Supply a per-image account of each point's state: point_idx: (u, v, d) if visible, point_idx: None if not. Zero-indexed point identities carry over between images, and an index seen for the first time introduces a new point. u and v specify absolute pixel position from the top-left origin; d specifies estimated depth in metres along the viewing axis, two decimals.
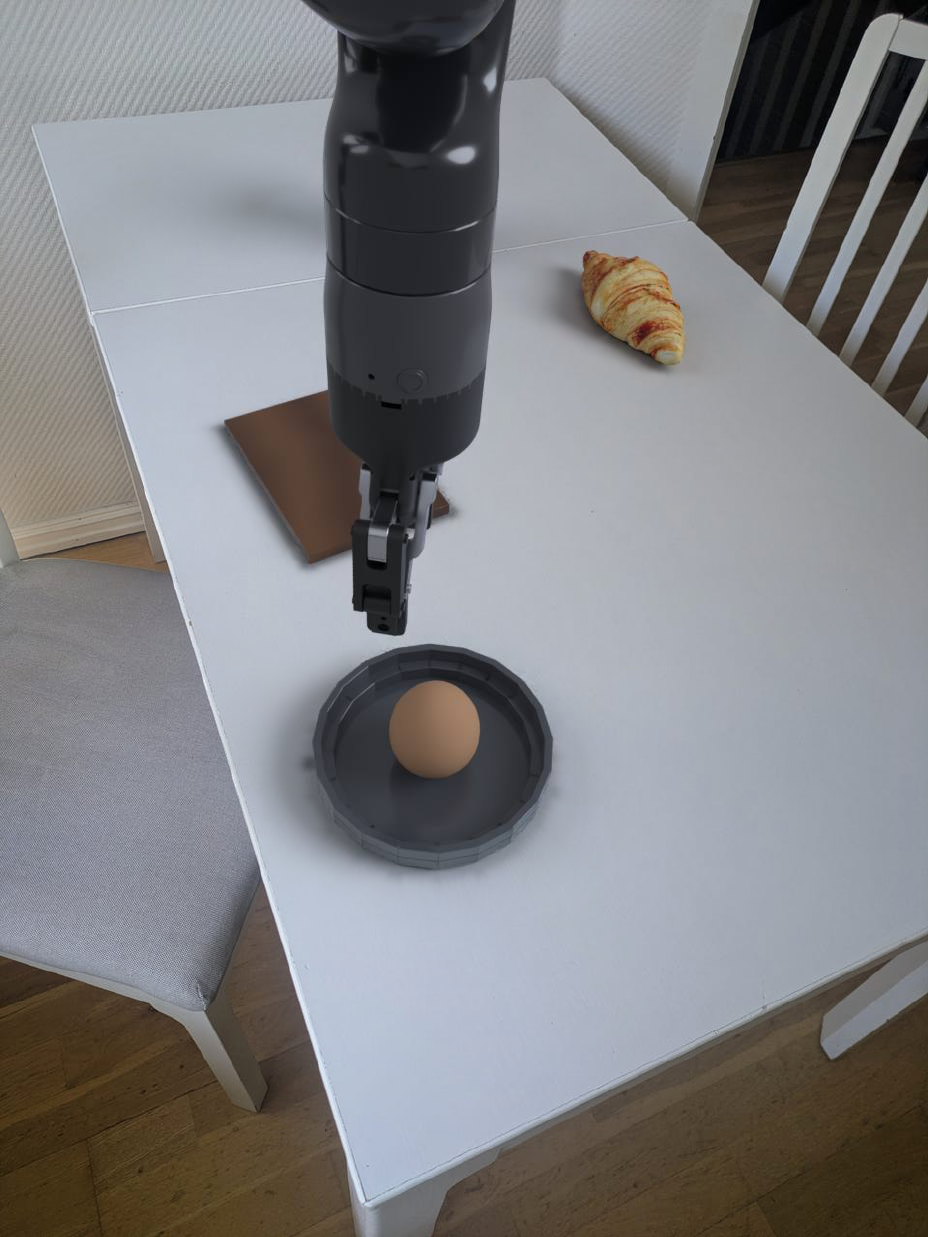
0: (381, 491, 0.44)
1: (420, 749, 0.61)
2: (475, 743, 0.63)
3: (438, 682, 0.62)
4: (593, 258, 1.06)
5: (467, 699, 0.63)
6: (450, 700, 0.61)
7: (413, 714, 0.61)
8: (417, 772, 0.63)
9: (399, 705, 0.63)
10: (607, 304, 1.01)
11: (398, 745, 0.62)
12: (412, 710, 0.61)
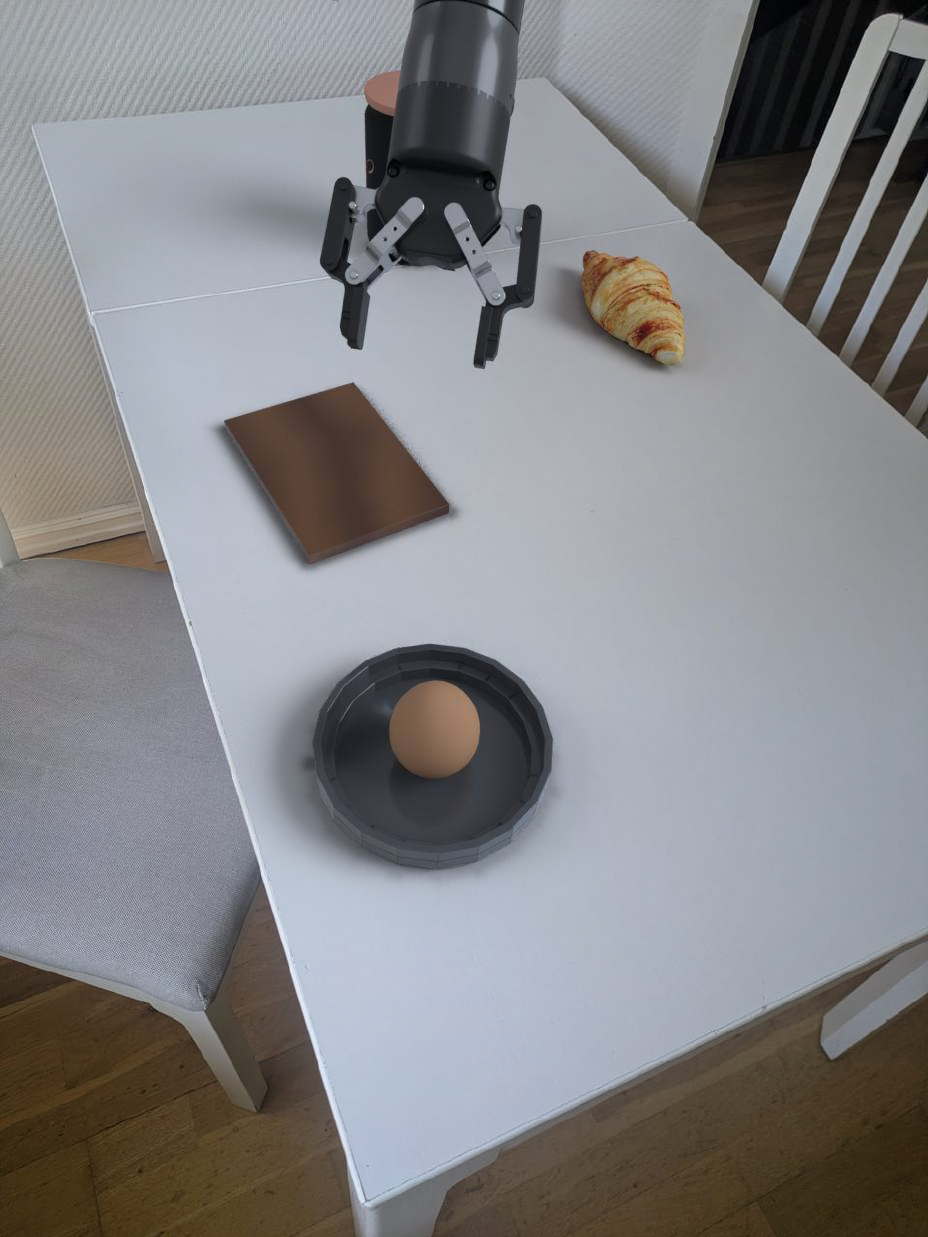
0: None
1: (420, 749, 0.61)
2: (475, 743, 0.63)
3: (438, 682, 0.62)
4: (593, 258, 1.06)
5: (467, 699, 0.63)
6: (450, 700, 0.61)
7: (413, 714, 0.61)
8: (417, 772, 0.63)
9: (399, 705, 0.63)
10: (607, 304, 1.01)
11: (398, 745, 0.62)
12: (412, 710, 0.61)
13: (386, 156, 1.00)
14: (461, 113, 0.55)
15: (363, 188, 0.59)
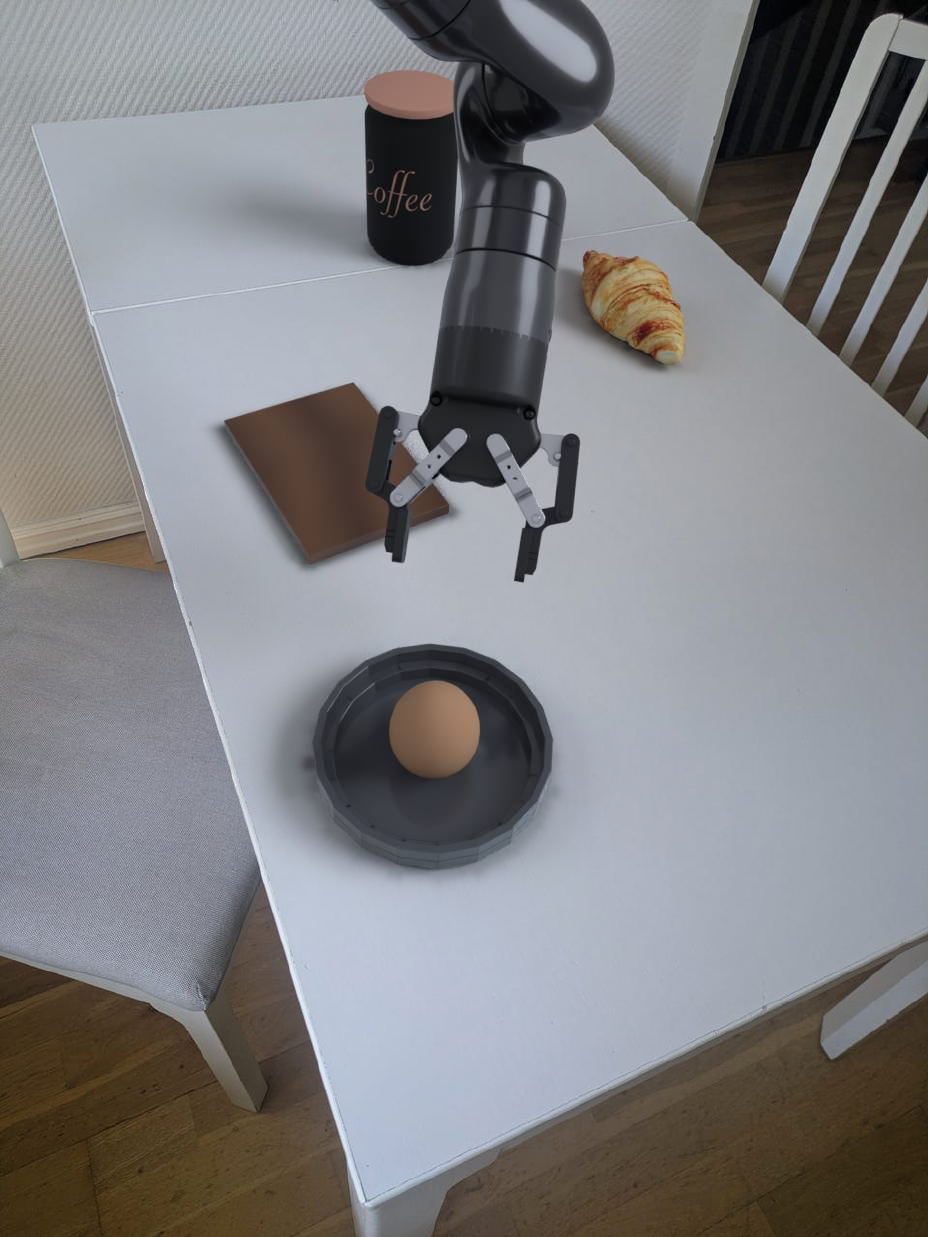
0: None
1: (420, 749, 0.61)
2: (475, 743, 0.63)
3: (438, 682, 0.62)
4: (593, 258, 1.06)
5: (467, 699, 0.63)
6: (450, 700, 0.61)
7: (413, 714, 0.61)
8: (417, 772, 0.63)
9: (399, 705, 0.63)
10: (607, 304, 1.01)
11: (398, 745, 0.62)
12: (412, 710, 0.61)
13: (386, 156, 1.00)
14: (504, 356, 0.58)
15: (406, 414, 0.62)
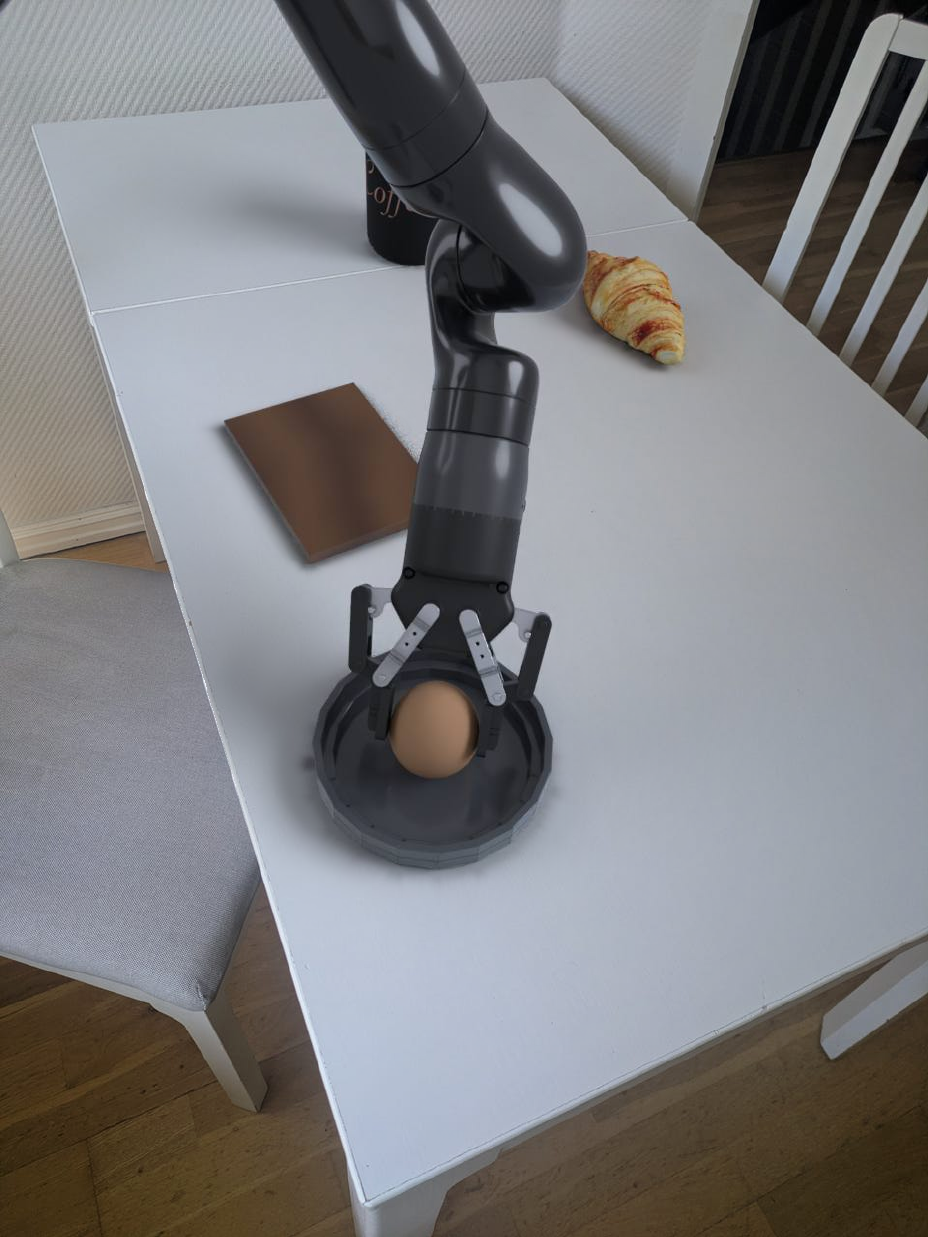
0: None
1: (420, 749, 0.61)
2: (475, 743, 0.63)
3: (438, 682, 0.62)
4: (593, 258, 1.06)
5: (467, 699, 0.63)
6: (450, 700, 0.61)
7: (413, 714, 0.61)
8: (417, 772, 0.63)
9: (399, 705, 0.63)
10: (608, 304, 1.01)
11: (398, 745, 0.62)
12: (412, 710, 0.61)
13: None
14: (476, 539, 0.58)
15: (378, 589, 0.61)
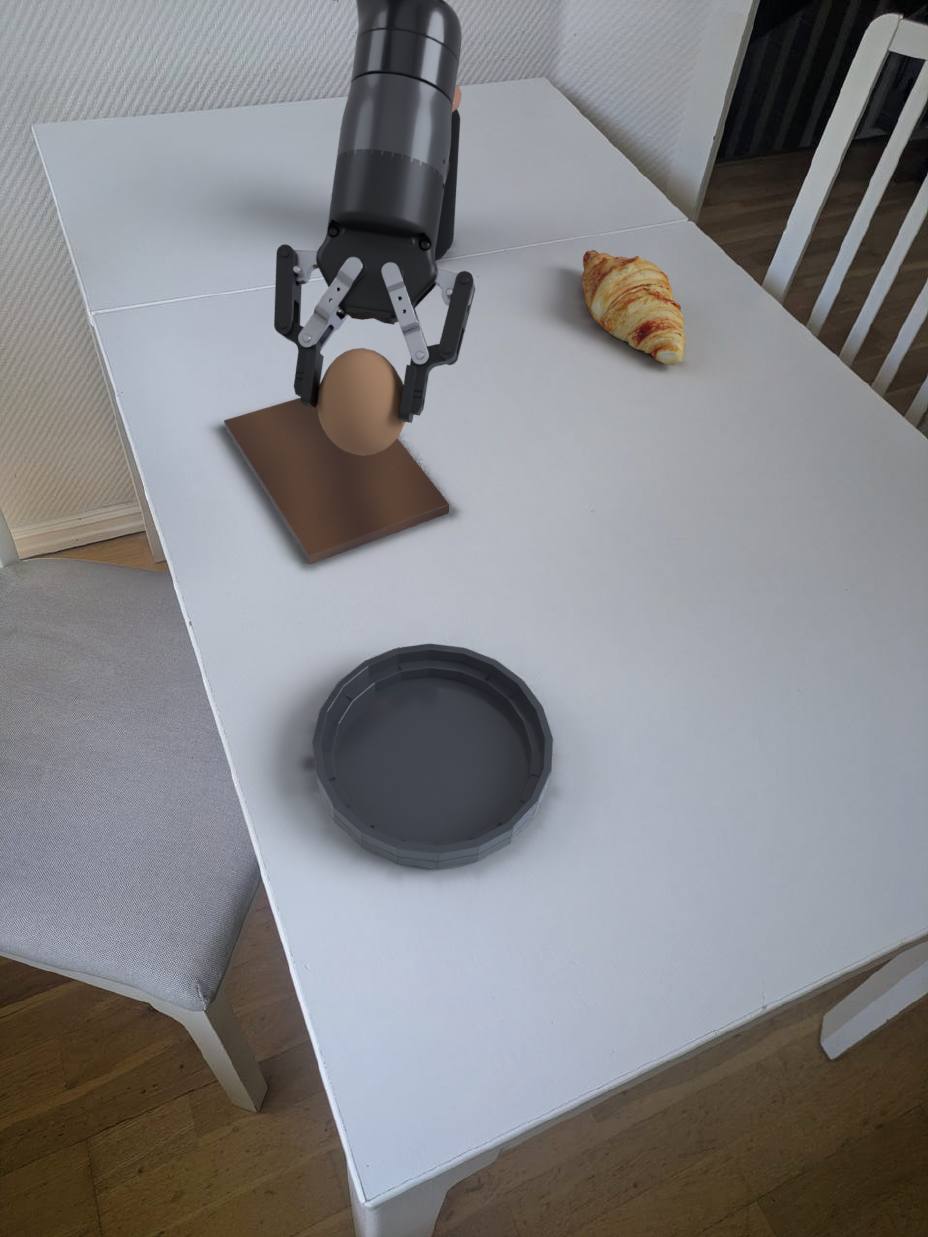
0: None
1: (344, 407, 0.62)
2: None
3: (364, 348, 0.63)
4: (593, 258, 1.06)
5: (392, 366, 0.64)
6: (374, 358, 0.62)
7: (337, 372, 0.62)
8: (343, 440, 0.64)
9: None
10: (608, 304, 1.01)
11: (324, 408, 0.63)
12: (337, 368, 0.62)
13: None
14: (395, 179, 0.58)
15: (304, 251, 0.62)
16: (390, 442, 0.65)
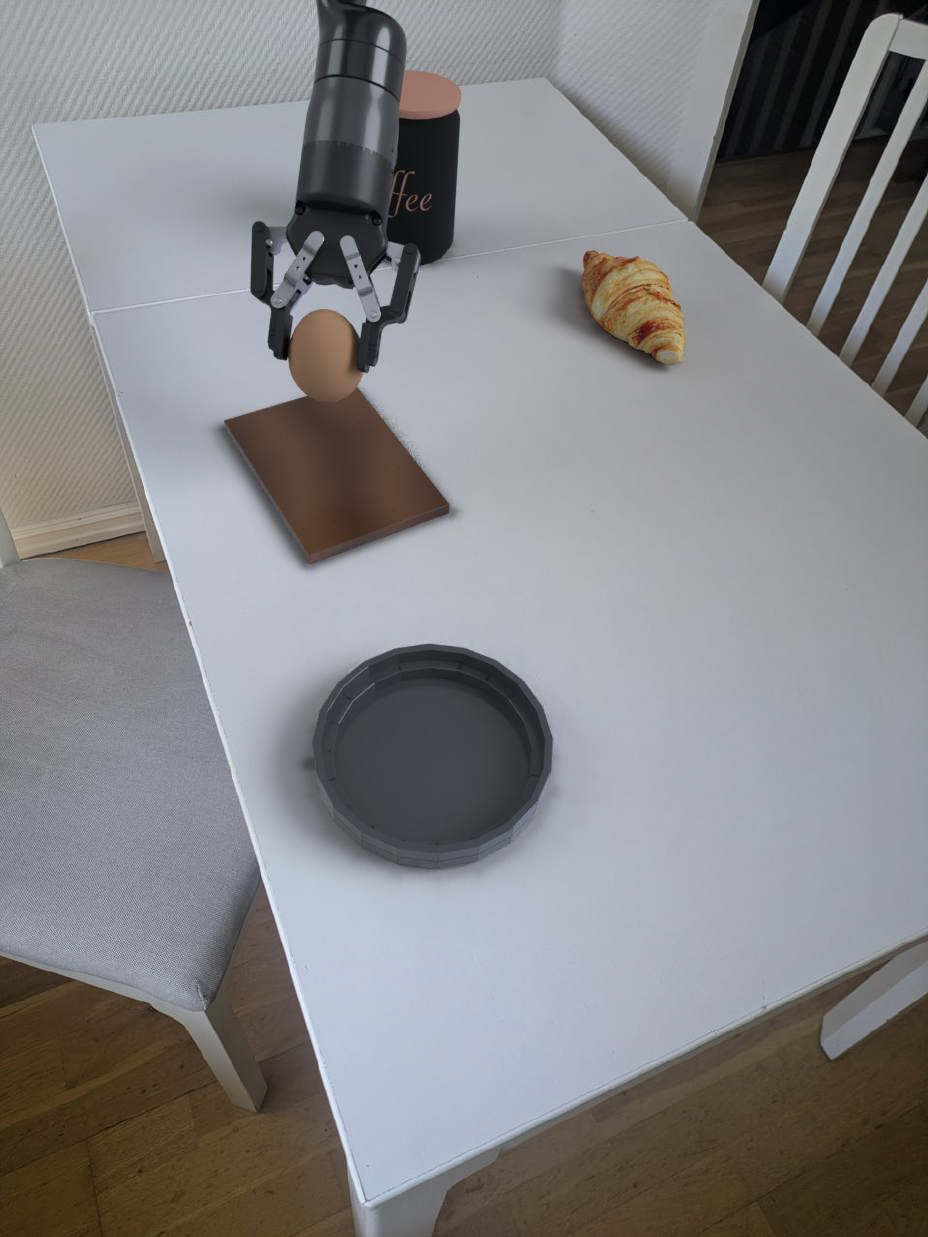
0: None
1: (310, 358, 0.74)
2: None
3: None
4: (593, 258, 1.06)
5: (351, 324, 0.75)
6: (335, 317, 0.73)
7: (303, 328, 0.73)
8: (310, 387, 0.76)
9: None
10: (608, 304, 1.01)
11: (293, 360, 0.75)
12: (303, 325, 0.73)
13: None
14: (350, 165, 0.70)
15: (275, 227, 0.74)
16: (350, 390, 0.77)
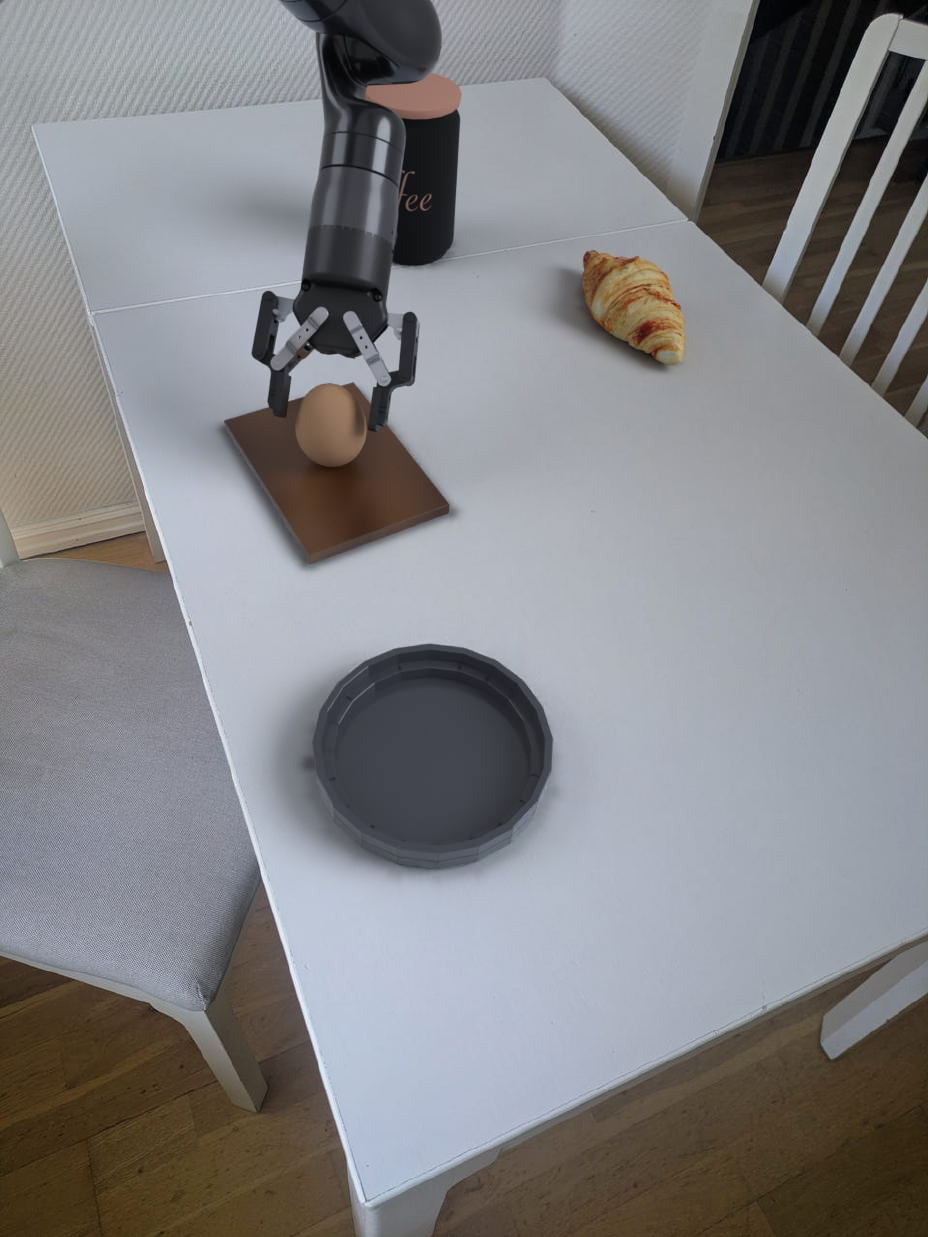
0: None
1: (316, 430, 0.79)
2: (361, 433, 0.81)
3: (331, 383, 0.81)
4: (593, 258, 1.06)
5: (354, 397, 0.81)
6: (339, 391, 0.79)
7: (309, 402, 0.79)
8: (316, 455, 0.81)
9: None
10: (608, 304, 1.01)
11: (300, 430, 0.81)
12: (309, 399, 0.79)
13: None
14: (353, 248, 0.75)
15: (284, 298, 0.79)
16: (353, 456, 0.83)
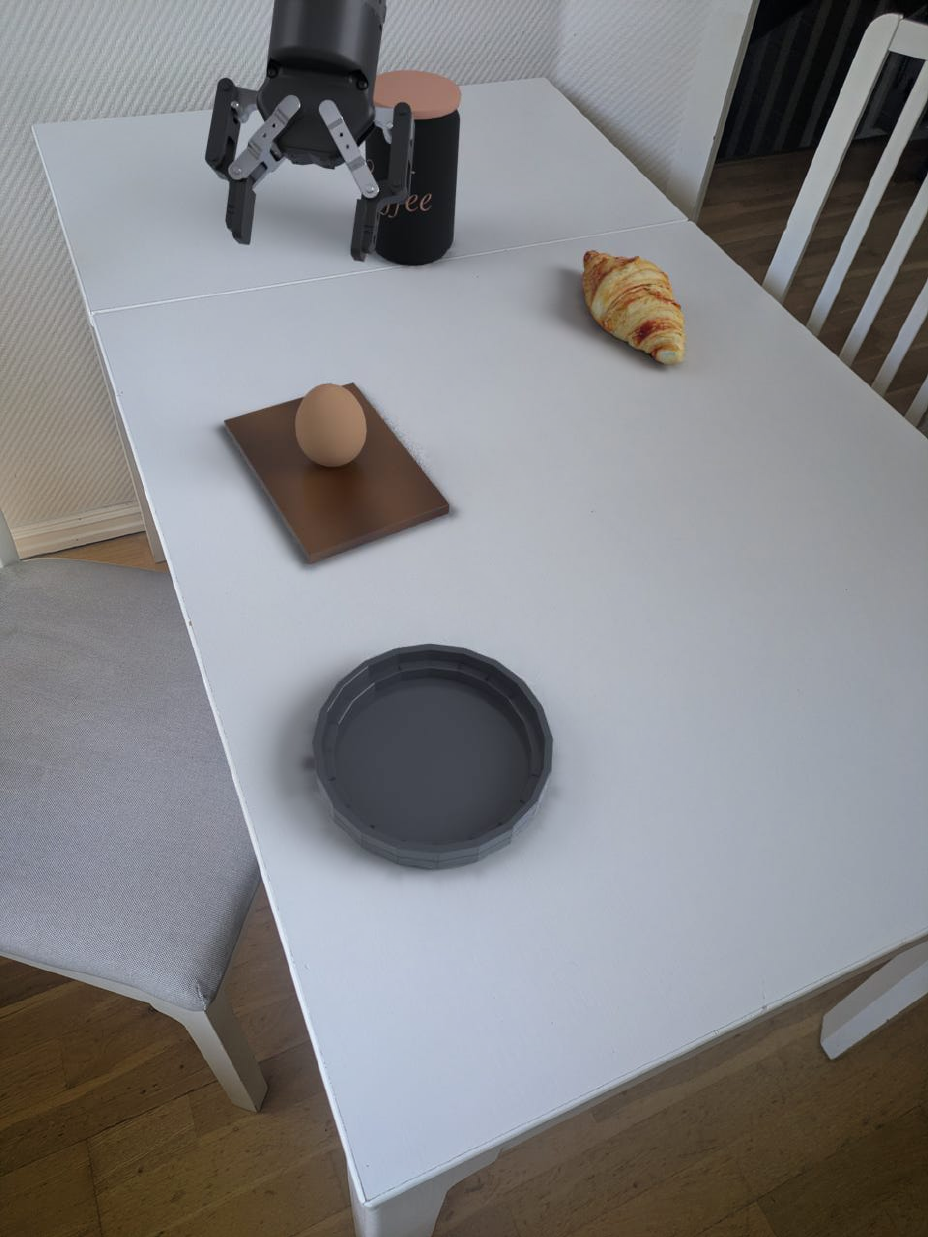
0: None
1: (316, 430, 0.79)
2: (361, 433, 0.81)
3: (331, 383, 0.81)
4: (593, 258, 1.06)
5: (354, 397, 0.81)
6: (339, 391, 0.79)
7: (309, 402, 0.79)
8: (316, 455, 0.81)
9: None
10: (608, 304, 1.01)
11: (300, 430, 0.81)
12: (309, 399, 0.79)
13: (386, 156, 1.00)
14: (330, 12, 0.59)
15: (245, 89, 0.63)
16: (353, 456, 0.83)
